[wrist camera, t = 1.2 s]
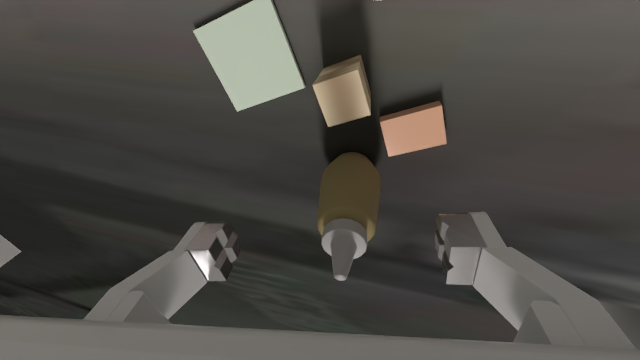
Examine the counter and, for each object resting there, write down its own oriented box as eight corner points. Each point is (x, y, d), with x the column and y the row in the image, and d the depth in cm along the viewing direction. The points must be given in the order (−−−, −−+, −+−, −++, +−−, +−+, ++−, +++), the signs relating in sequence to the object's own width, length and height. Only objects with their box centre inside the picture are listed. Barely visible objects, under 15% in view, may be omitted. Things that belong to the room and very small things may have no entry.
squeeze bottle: (364, 134, 35) (359, 235, 20) (390, 179, 38) (401, 293, 24) (314, 158, 38) (279, 259, 24) (342, 197, 42) (326, 307, 27)
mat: (269, -7, 28) (267, -7, 27) (305, 86, 33) (304, 87, 32) (195, 30, 31) (193, 30, 30) (238, 109, 36) (237, 111, 35)
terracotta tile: (438, 99, 31) (442, 105, 30) (443, 136, 34) (446, 143, 32) (379, 115, 34) (379, 122, 32) (387, 149, 36) (388, 156, 35)
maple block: (360, 54, 30) (357, 69, 24) (370, 93, 32) (370, 114, 26) (323, 68, 31) (312, 85, 25) (335, 104, 33) (328, 127, 28)
